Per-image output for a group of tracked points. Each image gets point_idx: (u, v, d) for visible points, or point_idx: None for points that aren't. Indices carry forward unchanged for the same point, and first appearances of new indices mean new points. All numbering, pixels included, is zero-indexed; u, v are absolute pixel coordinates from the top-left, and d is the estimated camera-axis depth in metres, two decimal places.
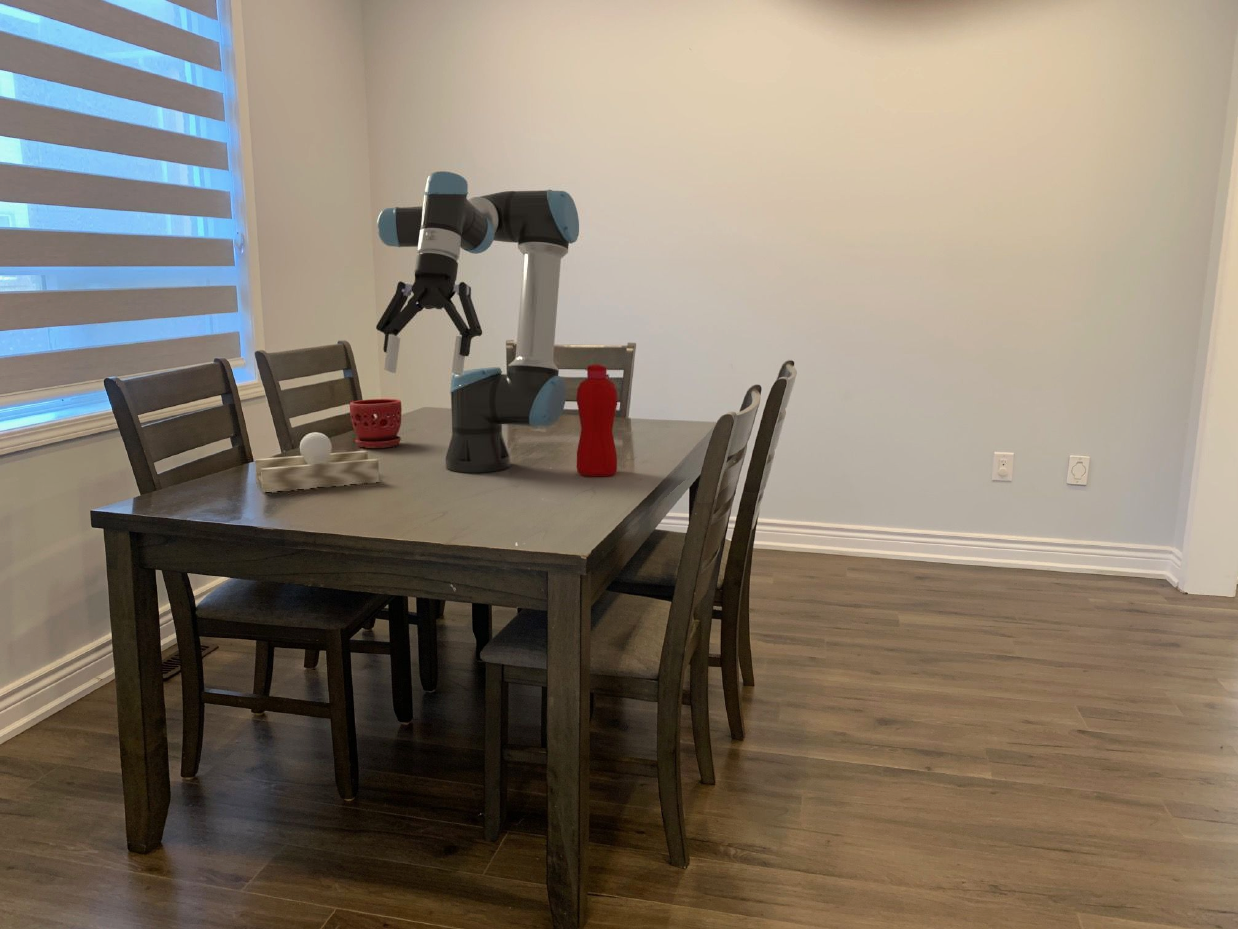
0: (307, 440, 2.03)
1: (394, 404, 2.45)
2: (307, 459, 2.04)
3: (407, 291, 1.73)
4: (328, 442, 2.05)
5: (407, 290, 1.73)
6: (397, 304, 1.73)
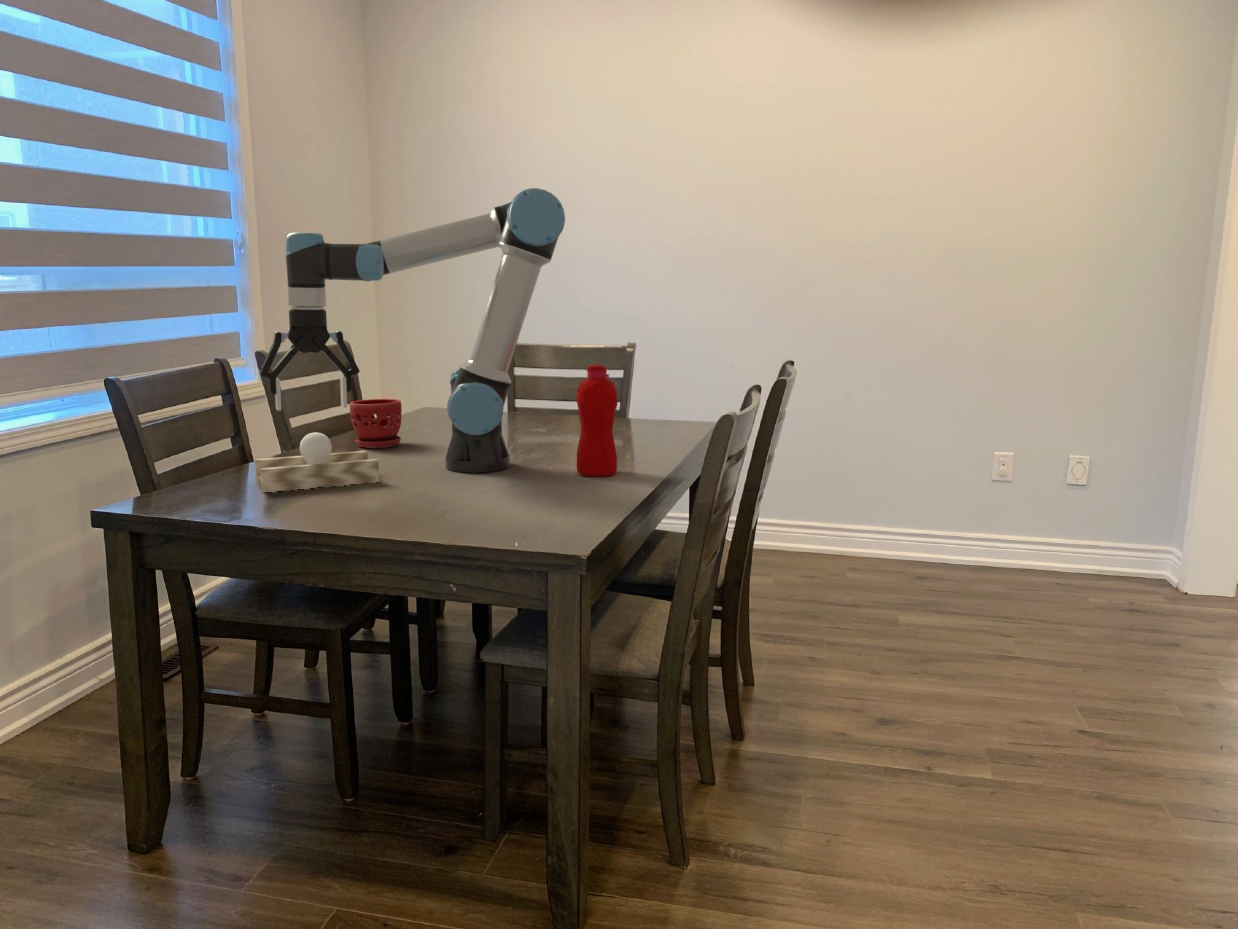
0: (307, 440, 2.03)
1: (394, 404, 2.45)
2: (307, 459, 2.04)
3: None
4: (328, 442, 2.05)
5: None
6: None
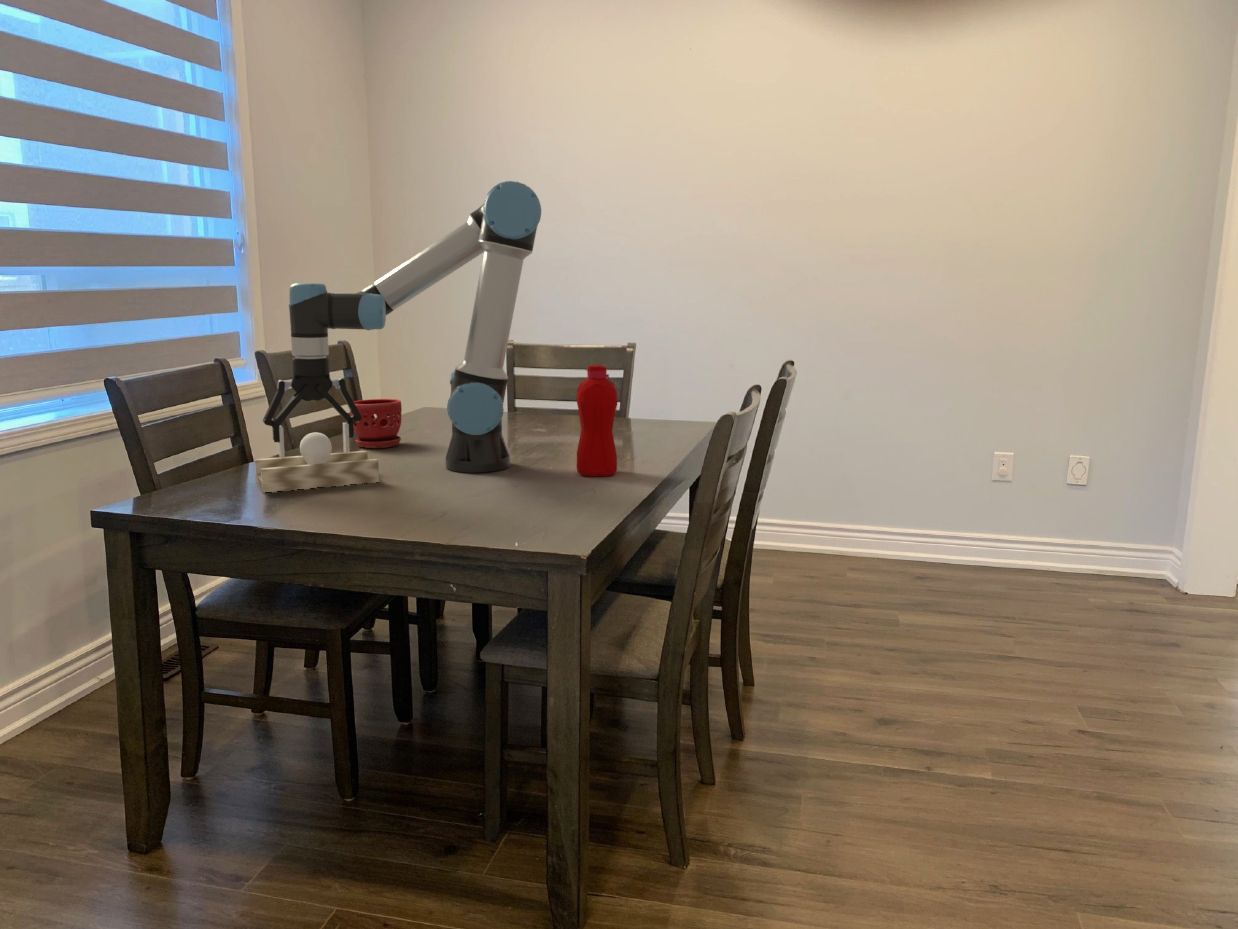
0: (307, 440, 2.03)
1: (394, 404, 2.45)
2: (307, 459, 2.04)
3: None
4: (328, 442, 2.05)
5: None
6: (343, 397, 2.07)
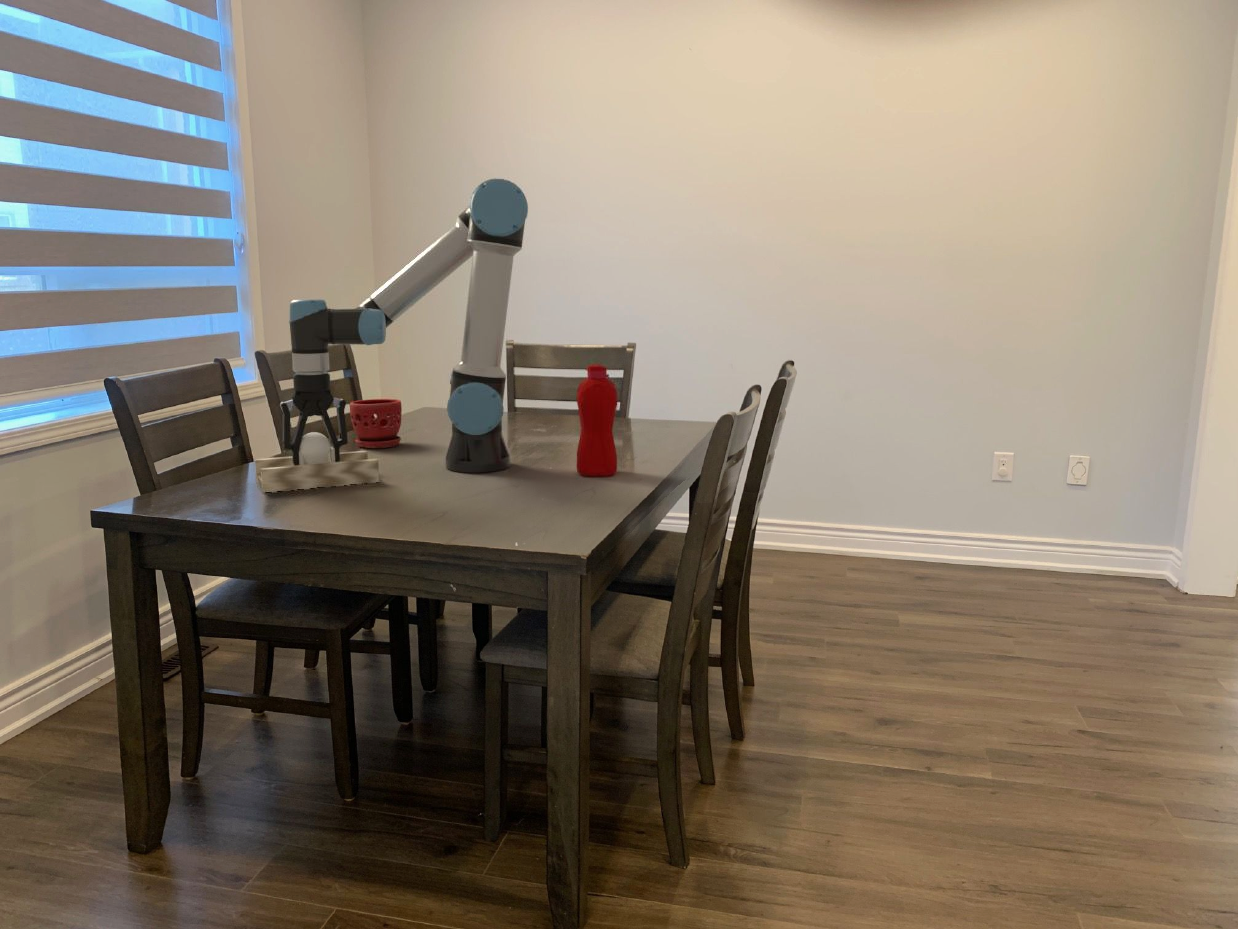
0: (305, 440, 2.03)
1: (394, 404, 2.45)
2: (306, 459, 2.04)
3: None
4: (326, 441, 2.05)
5: None
6: (337, 417, 2.08)
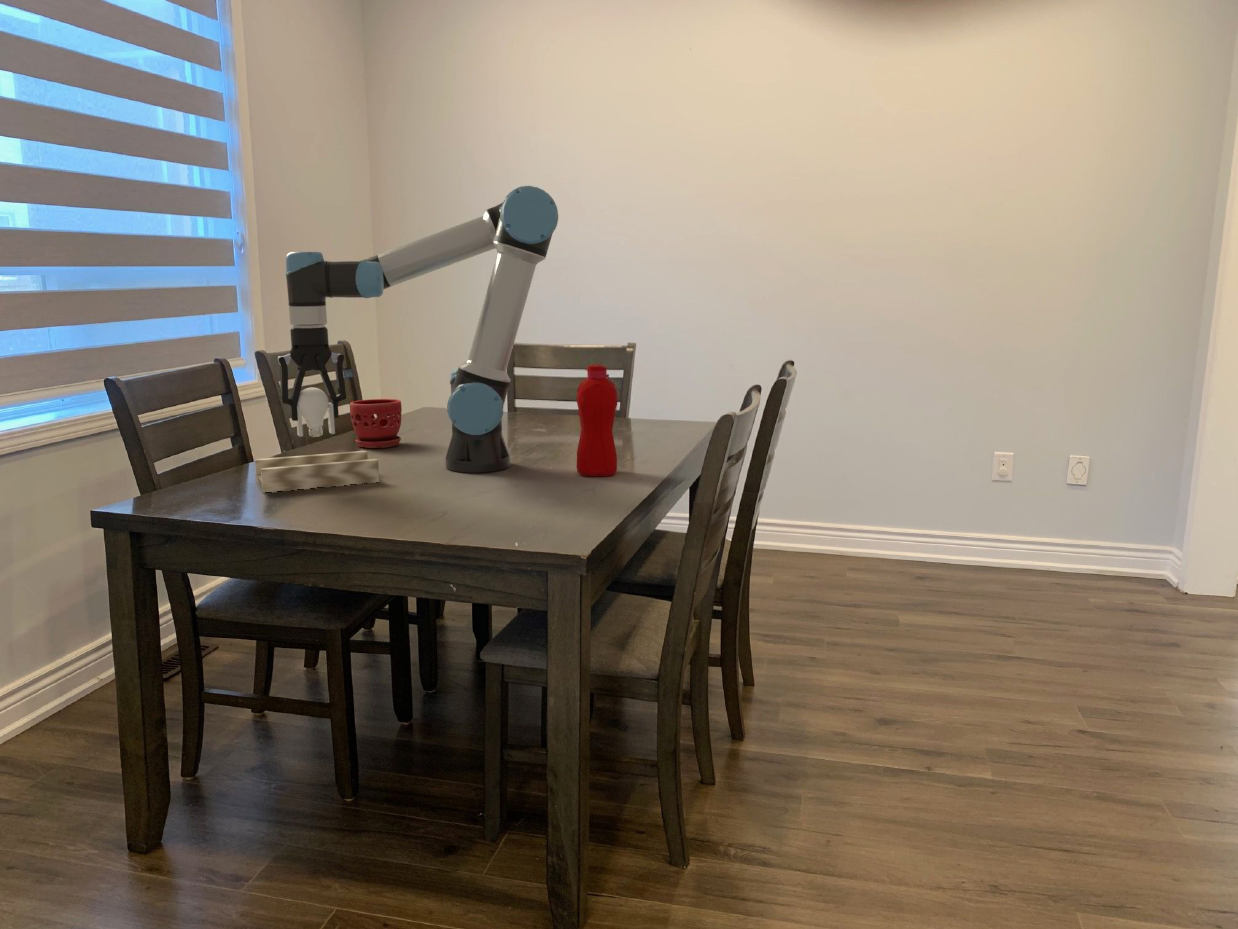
0: (304, 395, 2.01)
1: (394, 404, 2.45)
2: (304, 415, 2.02)
3: None
4: (325, 396, 2.03)
5: None
6: (336, 372, 2.06)
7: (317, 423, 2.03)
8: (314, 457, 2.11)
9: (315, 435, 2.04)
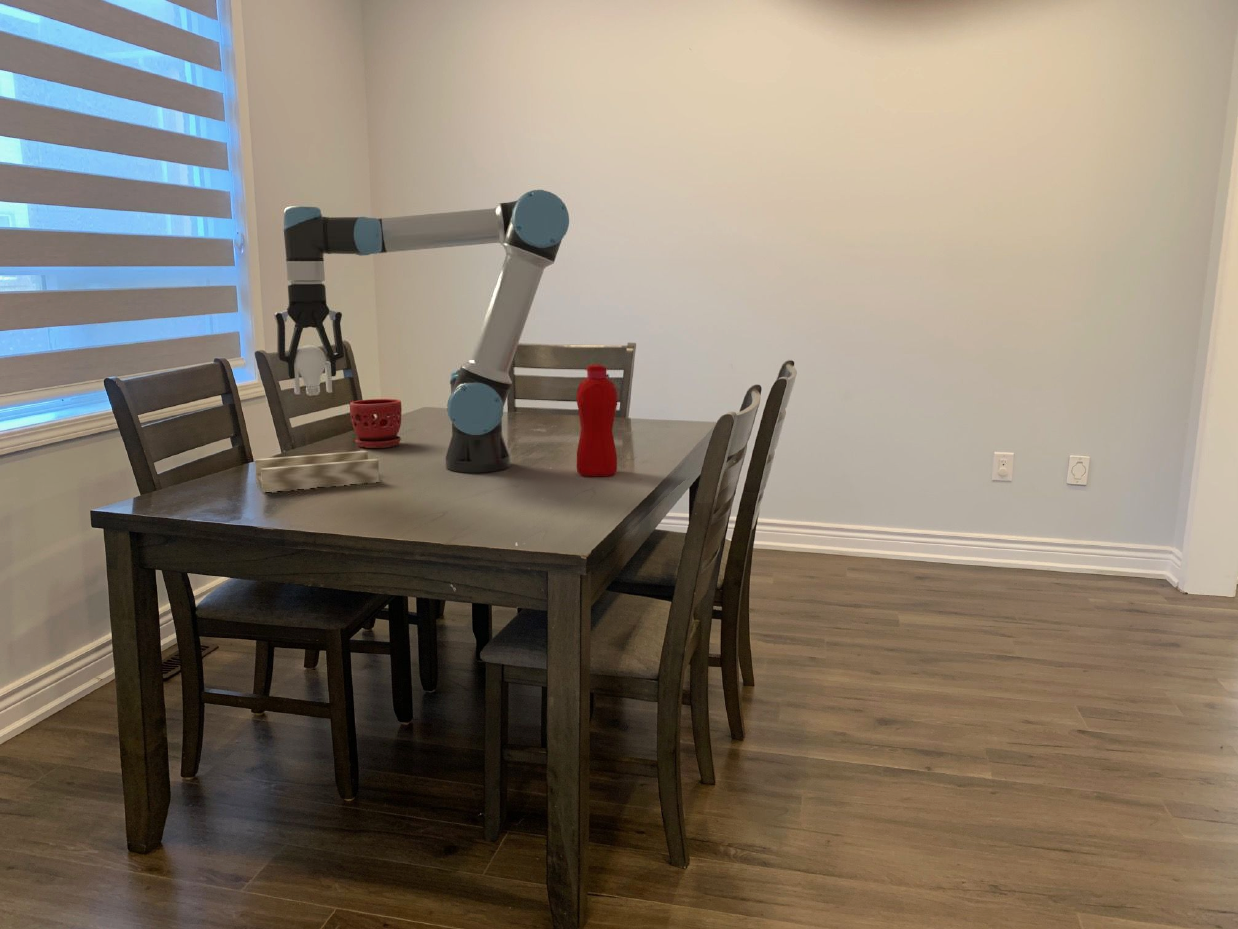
0: (301, 352, 1.99)
1: (394, 404, 2.45)
2: (301, 372, 2.00)
3: None
4: (322, 354, 2.01)
5: None
6: (333, 330, 2.04)
7: (315, 381, 2.02)
8: (314, 457, 2.11)
9: (312, 393, 2.02)
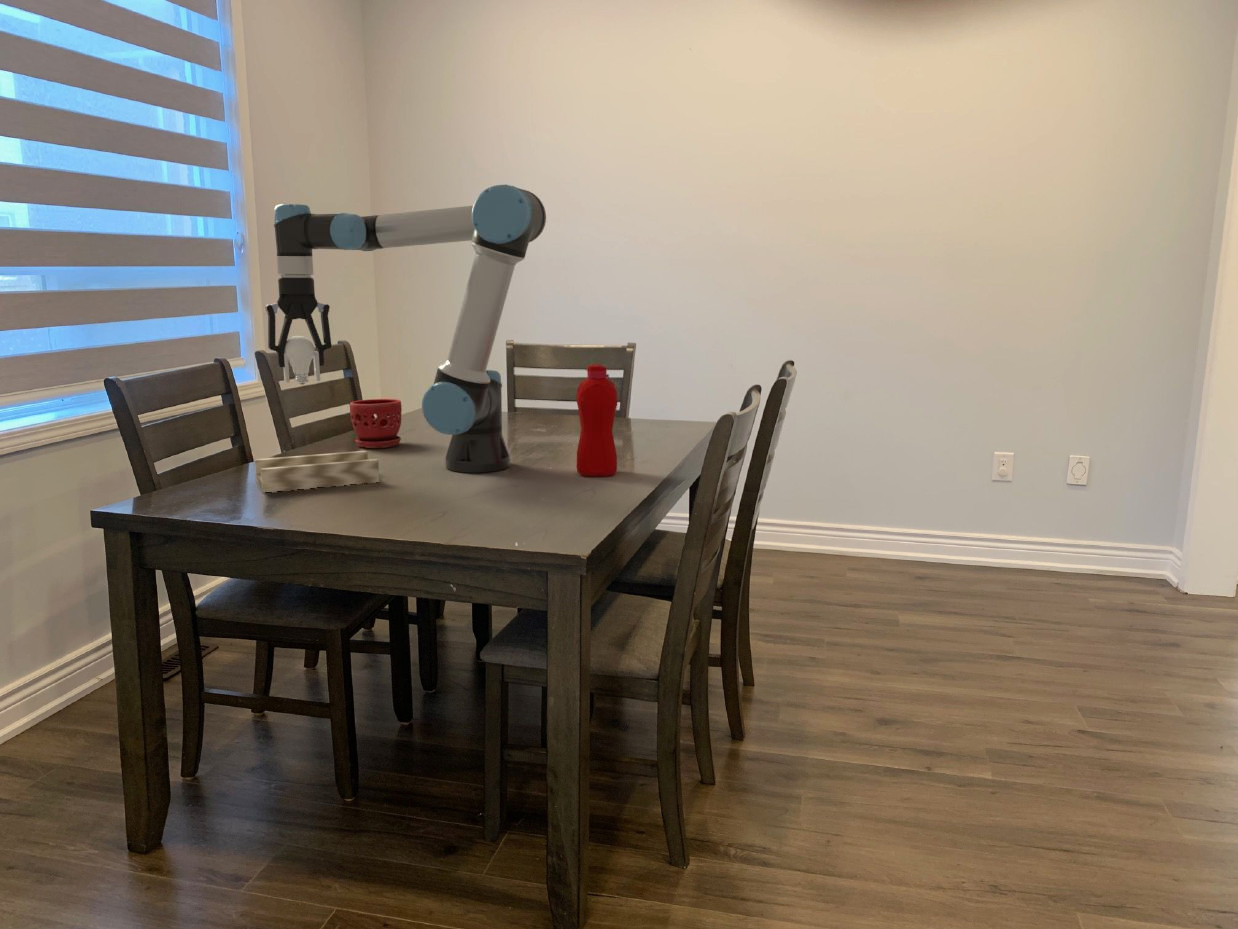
0: (290, 342, 2.10)
1: (394, 404, 2.45)
2: (291, 361, 2.11)
3: None
4: (311, 344, 2.12)
5: None
6: (321, 322, 2.15)
7: (303, 370, 2.13)
8: (314, 457, 2.11)
9: (301, 381, 2.13)
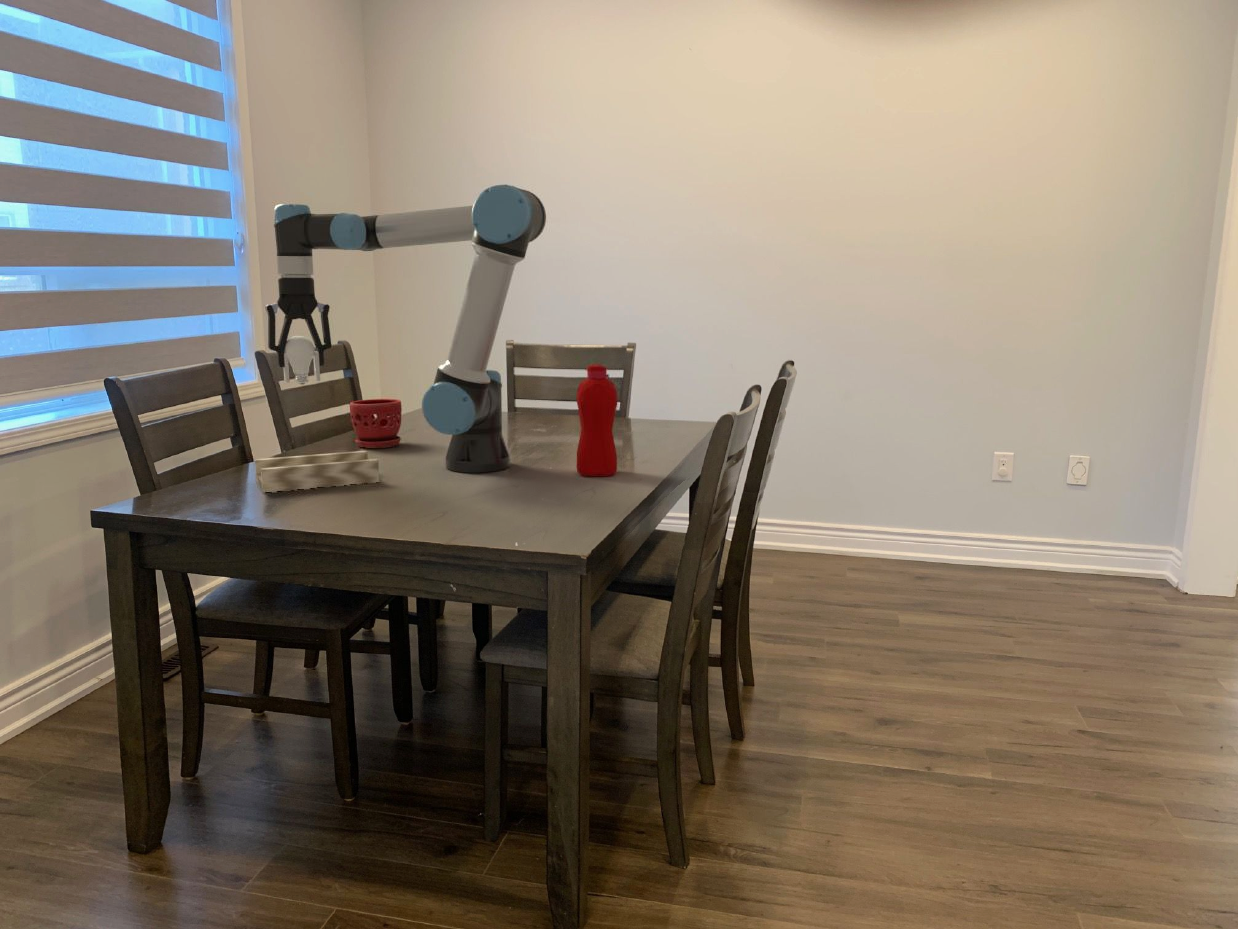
0: (290, 342, 2.10)
1: (394, 404, 2.45)
2: (291, 361, 2.11)
3: None
4: (311, 344, 2.12)
5: None
6: (321, 322, 2.15)
7: (303, 370, 2.13)
8: (314, 457, 2.11)
9: (301, 381, 2.13)
